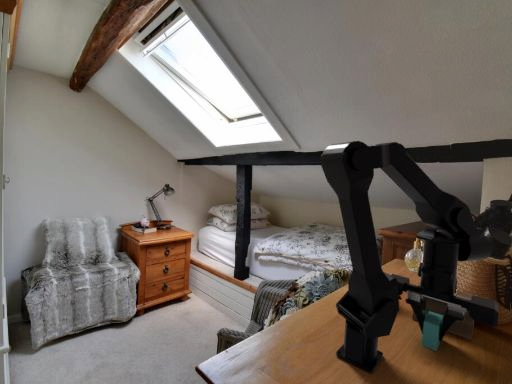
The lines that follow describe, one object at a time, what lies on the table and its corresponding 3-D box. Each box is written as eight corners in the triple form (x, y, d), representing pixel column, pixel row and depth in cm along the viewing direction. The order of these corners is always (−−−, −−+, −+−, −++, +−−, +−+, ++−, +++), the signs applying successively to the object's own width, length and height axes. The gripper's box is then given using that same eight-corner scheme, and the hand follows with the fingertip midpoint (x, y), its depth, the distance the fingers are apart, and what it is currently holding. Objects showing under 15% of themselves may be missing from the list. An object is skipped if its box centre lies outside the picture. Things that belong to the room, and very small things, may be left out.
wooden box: (471, 339, 57) (475, 307, 56) (412, 319, 64) (414, 290, 63) (474, 319, 65) (478, 291, 64) (421, 303, 72) (424, 277, 72)
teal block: (436, 351, 53) (438, 326, 52) (421, 345, 54) (423, 321, 54) (440, 338, 57) (443, 315, 56) (426, 333, 58) (429, 311, 58)
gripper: (502, 265, 54) (493, 340, 55) (399, 245, 66) (393, 306, 68) (502, 280, 46) (492, 368, 47) (384, 254, 58) (379, 324, 59)
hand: (432, 337), depth 55 cm, fingers closed on teal block, 2 cm apart
